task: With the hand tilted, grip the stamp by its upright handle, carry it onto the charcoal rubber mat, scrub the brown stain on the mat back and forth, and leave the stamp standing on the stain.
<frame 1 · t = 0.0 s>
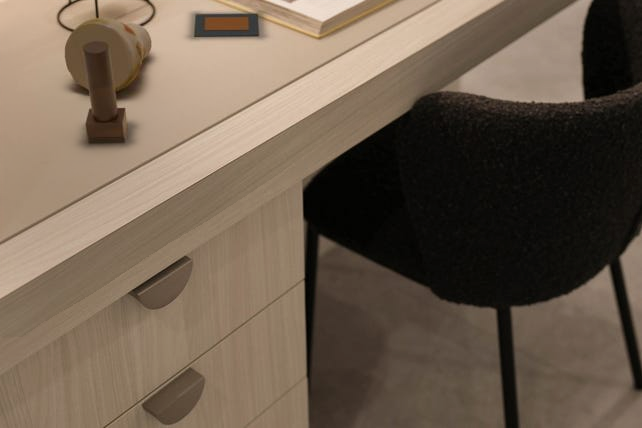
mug: (116, 76, 87), on the table
mat: (226, 27, 96), on the table
stamp: (108, 137, 78), on the table
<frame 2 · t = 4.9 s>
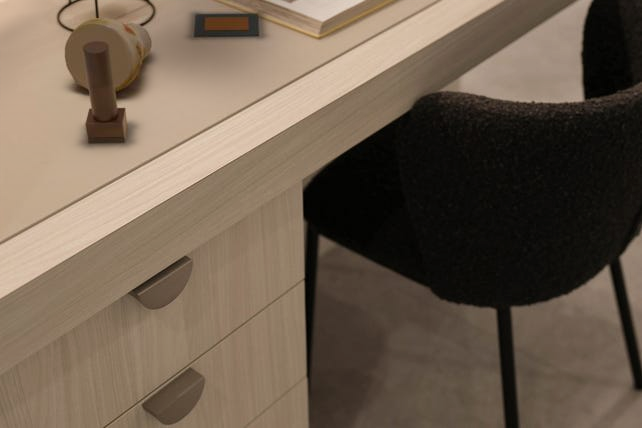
nothing on the table moved.
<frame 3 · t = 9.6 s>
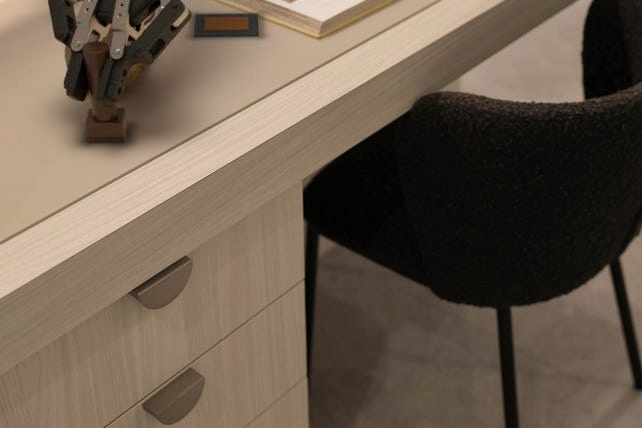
hand: (89, 100, 73), 5 cm above the table, tool tilted 45°, fingers closed on stamp, 2 cm apart
stamp: (108, 137, 78), on the table, touching gripper
everything else where it was.
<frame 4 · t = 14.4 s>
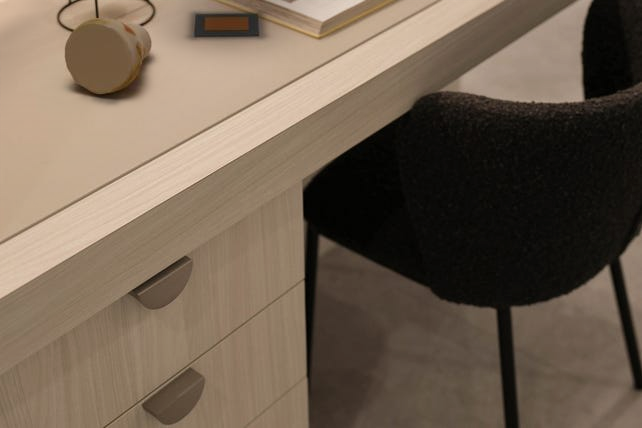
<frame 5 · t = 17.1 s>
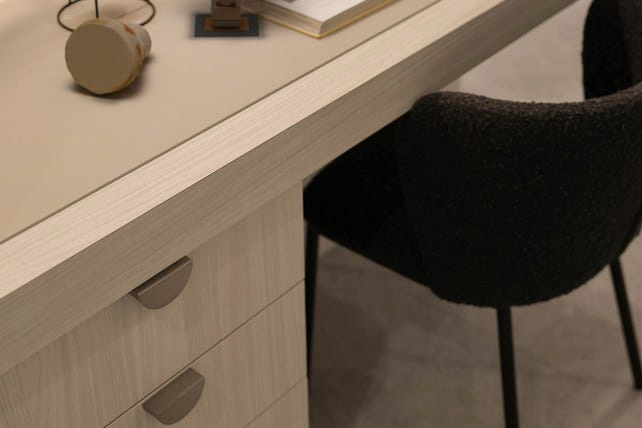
stamp: (226, 21, 95), point 1 cm above the table, touching gripper
everything else where it was.
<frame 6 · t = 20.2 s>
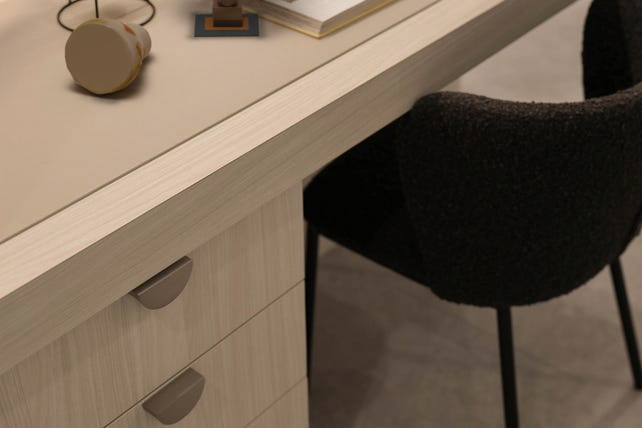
stamp: (228, 21, 96), resting on mat
everything else where it was.
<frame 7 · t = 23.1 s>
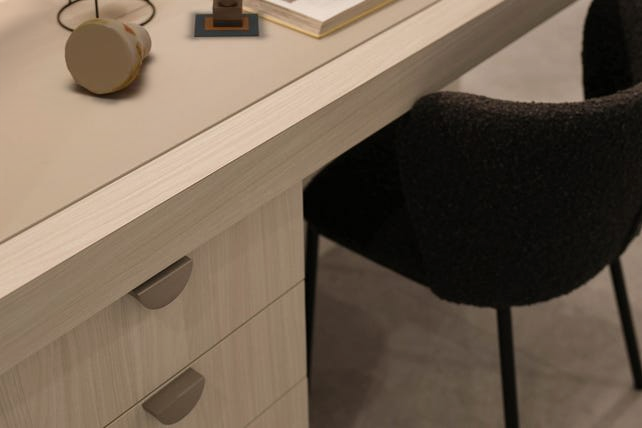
nothing on the table moved.
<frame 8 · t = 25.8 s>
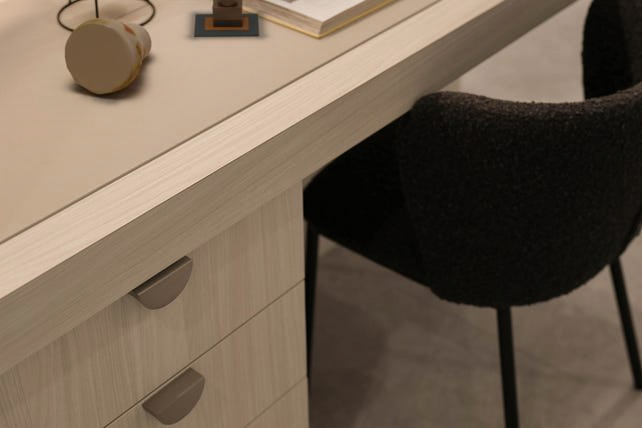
nothing on the table moved.
at the end: stamp 0.4 cm off-centre on the mat, point 0.5 cm above the mat's base; stamp tilted 0°; the gripper is holding nothing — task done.
